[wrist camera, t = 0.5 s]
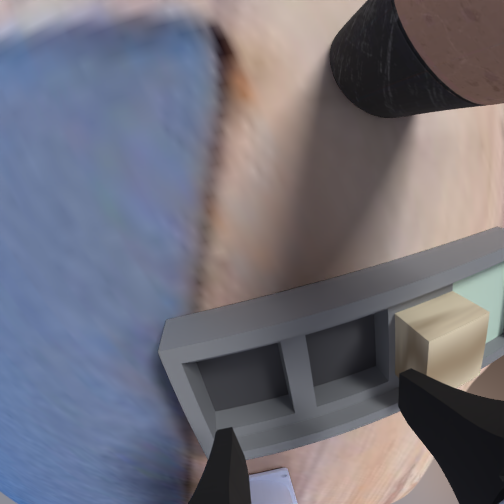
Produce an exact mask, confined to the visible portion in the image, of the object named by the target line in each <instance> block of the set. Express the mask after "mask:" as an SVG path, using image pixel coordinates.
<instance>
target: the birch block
mask: <svg viewBox="0 0 504 504" xmlns="http://www.w3.org/2000/svg"><path fill="white" fill-rule="evenodd" d="M489 314H490V312H489V311H487V310H485V309H483V308H482V307H480V306H478V305H477V304H475V303H473V302H471V301H470V300H468V299H466V298H464V297H462V296H461V295H459V294H457V293H455V292H454V291H451V292H449V293H446V294H444V295H441V296H439V297H436V298H434V299H431V300H429V301H426V302H424V303H421V304H419V305H416V306H413V307H411V308H408V309H405V310H403V311H400V312H397V313H395V374H396V376H397V377H398V378H399V373H401V372H404V371H406V370H408V369H410V368H412V369H414V370H416V371H418V372H421V373H423V374H425V375H427V376H429V377H431V378H433V379H435V380H437V381H440V382H442V383H444V384H446V385H449V386H451V387H454V388H458V387H460V386H462V385H464V384H465V383H467V382H469V381H471V380H472V379H474V378H476V377H477V376H479V375H480V371H481V366H482V360H483V355H484V349H485V343H486V337H487V330H488V322H489Z"/></svg>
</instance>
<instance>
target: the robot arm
mask: <svg viewBox="0 0 504 504" xmlns="http://www.w3.org/2000/svg"><path fill="white" fill-rule="evenodd" d="M398 407H399V409H400V411H401V413H402V415H403V416H404V418H405V420H406V421H407V423H408V424H409V426H410V427H411V428H412V430H413V431H414V432H415V434H416V435H417V436H418V437H419V439H420V440H421V441H422V442H423V444H424V445H425V446H426V447H427V449H428V450H429V451H430V453H431V454H432V455H433V456H434V458H435V459H436V461H437V462H438V464H439V465H440V467H441V469H442V471H443V472H444V474H445V476H446V478H447V479H448V482H449V483H450V485H451V487H452V489H453V491H454V493H455V495H456V498H457V500H458V502H459V504H504V401H501V400H494V399H489V398H485V397H481V396H477V395H474V394H470V393H467V392H465V391H462V390H459V389H456V388H454V387H451V386H449V385H446V384H444V383H442V382H440V381H437V380H435V379H433V378H431V377H429V376H427V375H425V374H423V373H421V372H418V371H416V370H414V369H412V368H410V369H408V370H406V371H404V372H401V373H399V397H398ZM188 504H297V500H296V497H295V493H294V490H293V486H292V483H291V479H290V476H289V472H288V469H287V468H279V469H275V470H271V471H266V472H262V473H257V474H252V475H249V474H248V469H247V465H246V460H245V456H244V453H243V451H242V449H241V447H240V444H239V442H238V439H237V437H236V435H235V432H234V430H233V427H229V428H224V429H219V430H217V431H216V433H215V438H214V442H213V446H212V449H211V452H210V456H209V459H208V461H207V464H206V467H205V470H204V472H203V475H202V477H201V479H200V481H199V484H198V486H197V488H196V490H195V492H194V494H193V496H192V498H191V499H190V501H189V503H188Z"/></svg>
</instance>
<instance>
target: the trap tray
mask: <svg viewBox="0 0 504 504" xmlns="http://www.w3.org/2000/svg"><path fill="white" fill-rule="evenodd" d="M451 291H454V292H455V293H457V294H459V295H461V296H462V297H464V298H466V299H468V300H470V301H471V302H473V303H475V304H477V305H478V306H480V307H482V308H483V309H485V310H487V311H489V312H490V314H489V322H488V330H487V337H486V343H485V349H484V355H483V360H482V366H481V369H482V368H484V367H485V366H487V365H488V364H490V363H492V362H493V361H495V360H496V359H498V358H499V357H501V356H502V355H504V228H501V227H495V228H492V229H489V230H486V231H483V232H480V233H477V234H474V235H471V236H468V237H465V238H462V239H459V240H456V241H453V242H450V243H447V244H444V245H441V246H438V247H435V248H432V249H428V250H425V251H422V252H419V253H416V254H413V255H409V256H406V257H403V258H400V259H396V260H393V261H390V262H386V263H383V264H380V265H376V266H373V267H369V268H366V269H363V270H359V271H356V272H352V273H349V274H345V275H342V276H338V277H335V278H331V279H327V280H324V281H320V282H317V283H313V284H309V285H305V286H302V287H298V288H294V289H290V290H287V291H283V292H279V293H275V294H271V295H267V296H263V297H260V298H256V299H252V300H248V301H244V302H240V303H235V304H231V305H227V306H223V307H219V308H215V309H211V310H206V311H202V312H198V313H193V314H189V315H185V316H180V317H176V318H171V319H167V320H166V323H165V327H164V330H163V334H162V338H161V341H160V345H159V349H158V353H159V356H160V358H161V361H162V363H163V366H164V368H165V370H166V373H167V375H168V377H169V380H170V382H171V384H172V387H173V389H174V391H175V393H176V396H177V398H178V400H179V402H180V404H181V407H182V409H183V411H184V413H185V415H186V417H187V419H188V421H189V423H190V425H191V428H192V430H193V432H194V434H195V436H196V438H197V440H198V442H199V444H200V445H201V447H202V449H203V451H204V453H205V455H206V457H207V459H209V456H210V452H211V449H212V446H213V442H214V438H215V433H216V431H217V430H219V429H224V428H229V427H233V430H234V432H235V435H236V437H237V439H238V442H239V444H240V447H241V449H242V451H243V453H244V456H245V460H248V459H253V458H258V457H262V456H267V455H271V454H275V453H279V452H283V451H287V450H291V449H294V448H298V447H301V446H305V445H308V444H312V443H315V442H318V441H322V440H325V439H328V438H331V437H334V436H337V435H340V434H343V433H346V432H348V431H351V430H354V429H357V428H359V427H362V426H365V425H367V424H370V423H373V422H375V421H378V420H380V419H382V418H385V417H387V416H390V415H392V414H394V413H397V412H399V411H400V409H399V407H398V397H399V378H398V377H397V376H396V374H395V313H397V312H400V311H403V310H405V309H408V308H411V307H413V306H416V305H419V304H421V303H424V302H426V301H429V300H431V299H434V298H436V297H439V296H441V295H444V294H446V293H449V292H451Z"/></svg>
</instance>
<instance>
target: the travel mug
mask: <svg viewBox="0 0 504 504" xmlns="http://www.w3.org/2000/svg"><path fill="white" fill-rule="evenodd" d="M330 63H331V68H332V72H333V75H334V78H335V80H336V82H337V84H338V85H339V87H340V89H341V90H342V91H343V93H344V94H345V95H346V96H347V98H348V99H349V100H350V101H351V102H353V103H354V104H355V105H356V106H357V107H359V108H360V109H362V110H364V111H365V112H367V113H370V114H372V115H375V116H378V117H384V118H396V117H403V116H409V115H416V114H422V113H429V112H435V111H443V110H450V109H458V108H466V107H475V106H485V105H494V104H501V103H504V0H367V1H366V2H365V4H364V5H363V6H362V7H361V8H360V9H359V10H358V11H357V12H356V13H355V14H354V15H353V16H352V18H351V19H350V20H349V21H348V22H347V23H346V24H345V25H344V26H343V28H342V29H341V30H340V31H339V32H338V34H337V35H336V37H335V39H334V41H333V43H332V47H331V51H330Z"/></svg>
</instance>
